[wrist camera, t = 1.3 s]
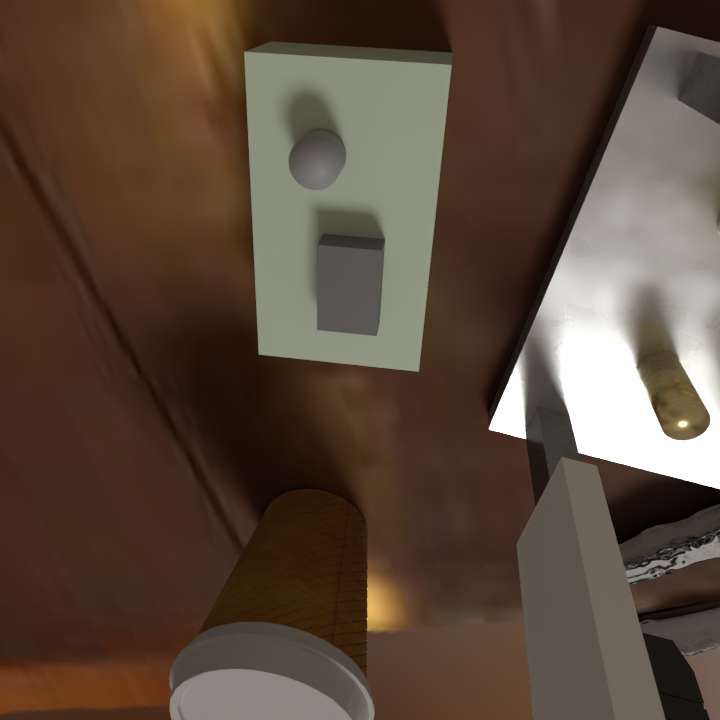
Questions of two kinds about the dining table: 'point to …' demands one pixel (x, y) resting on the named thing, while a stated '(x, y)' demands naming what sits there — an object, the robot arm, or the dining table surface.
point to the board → (344, 198)
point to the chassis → (633, 287)
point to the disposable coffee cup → (285, 622)
